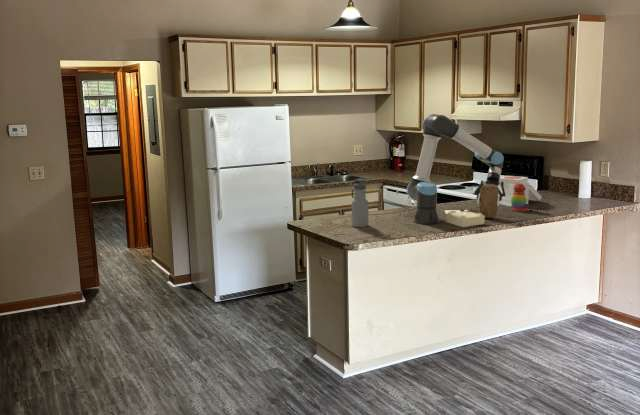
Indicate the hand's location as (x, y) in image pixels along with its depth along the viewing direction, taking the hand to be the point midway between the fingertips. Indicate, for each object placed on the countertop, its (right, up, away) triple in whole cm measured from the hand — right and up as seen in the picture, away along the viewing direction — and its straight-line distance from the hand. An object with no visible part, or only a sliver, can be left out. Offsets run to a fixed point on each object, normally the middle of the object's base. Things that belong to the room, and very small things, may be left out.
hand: (487, 204), depth 374 cm
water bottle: (-78, -13, -9) cm, 80 cm away
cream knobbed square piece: (-16, -11, -7) cm, 21 cm away
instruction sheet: (-16, -5, +23) cm, 28 cm away
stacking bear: (+27, -4, +26) cm, 38 cm away
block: (+1, -8, +4) cm, 9 cm away
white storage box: (+35, +1, +51) cm, 62 cm away
